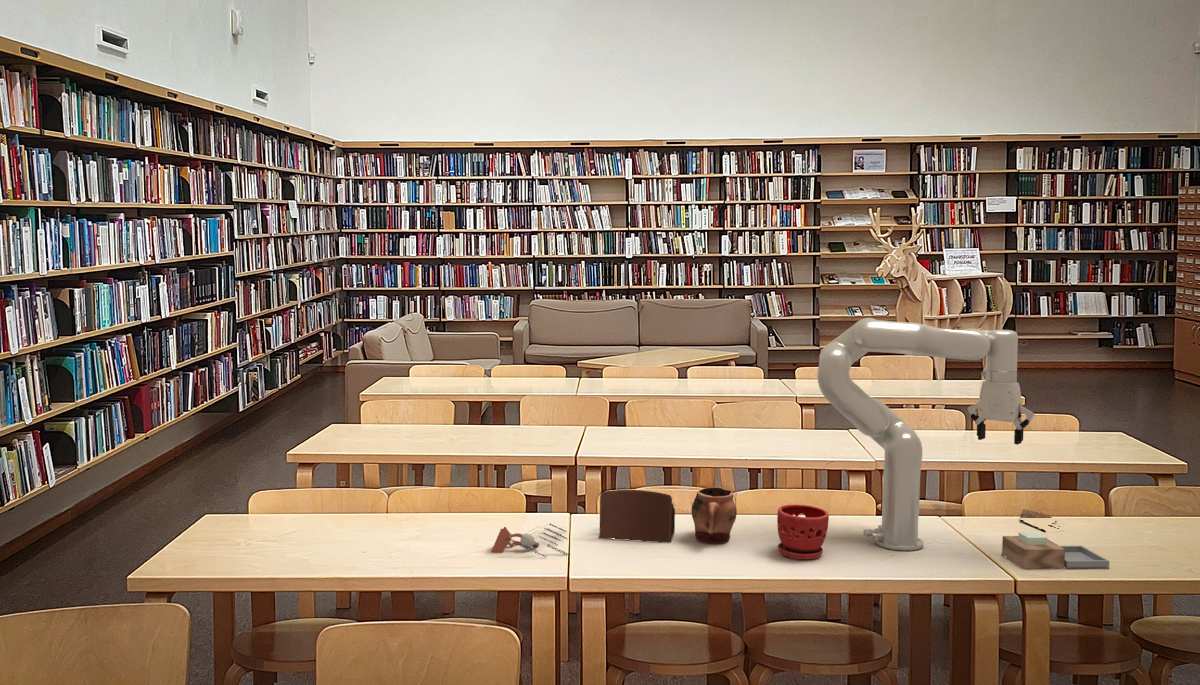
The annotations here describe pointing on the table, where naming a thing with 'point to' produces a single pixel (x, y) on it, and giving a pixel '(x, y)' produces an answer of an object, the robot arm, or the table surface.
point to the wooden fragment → (1034, 515)
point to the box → (1083, 558)
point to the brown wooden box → (1033, 554)
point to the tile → (1032, 538)
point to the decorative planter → (713, 514)
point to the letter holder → (637, 515)
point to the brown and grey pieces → (525, 541)
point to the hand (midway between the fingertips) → (999, 441)
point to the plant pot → (801, 531)
